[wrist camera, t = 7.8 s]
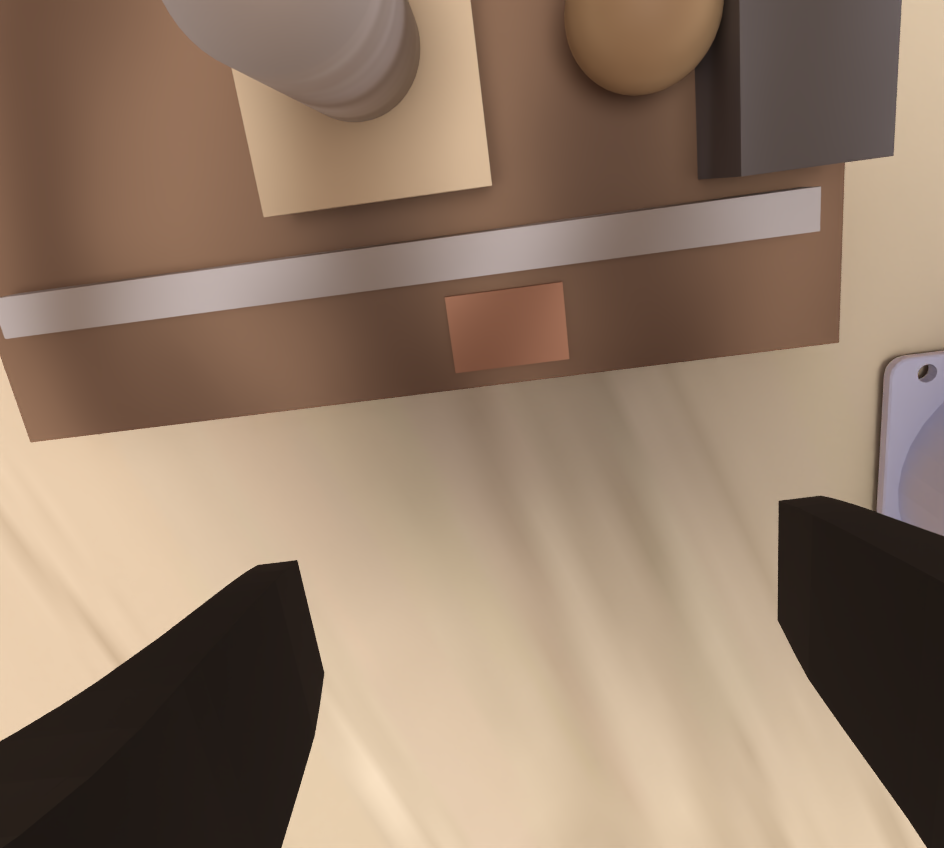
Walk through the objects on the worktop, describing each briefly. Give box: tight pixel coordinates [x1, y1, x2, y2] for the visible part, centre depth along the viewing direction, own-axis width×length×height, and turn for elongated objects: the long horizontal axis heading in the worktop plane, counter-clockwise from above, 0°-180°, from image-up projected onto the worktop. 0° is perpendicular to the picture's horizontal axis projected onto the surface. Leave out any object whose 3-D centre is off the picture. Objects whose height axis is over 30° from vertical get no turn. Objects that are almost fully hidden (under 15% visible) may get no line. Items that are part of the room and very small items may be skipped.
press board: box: [0, 0, 902, 442], centre depth 15 cm, size 22×16×5 cm
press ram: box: [162, 0, 492, 217], centre depth 12 cm, size 5×6×8 cm
